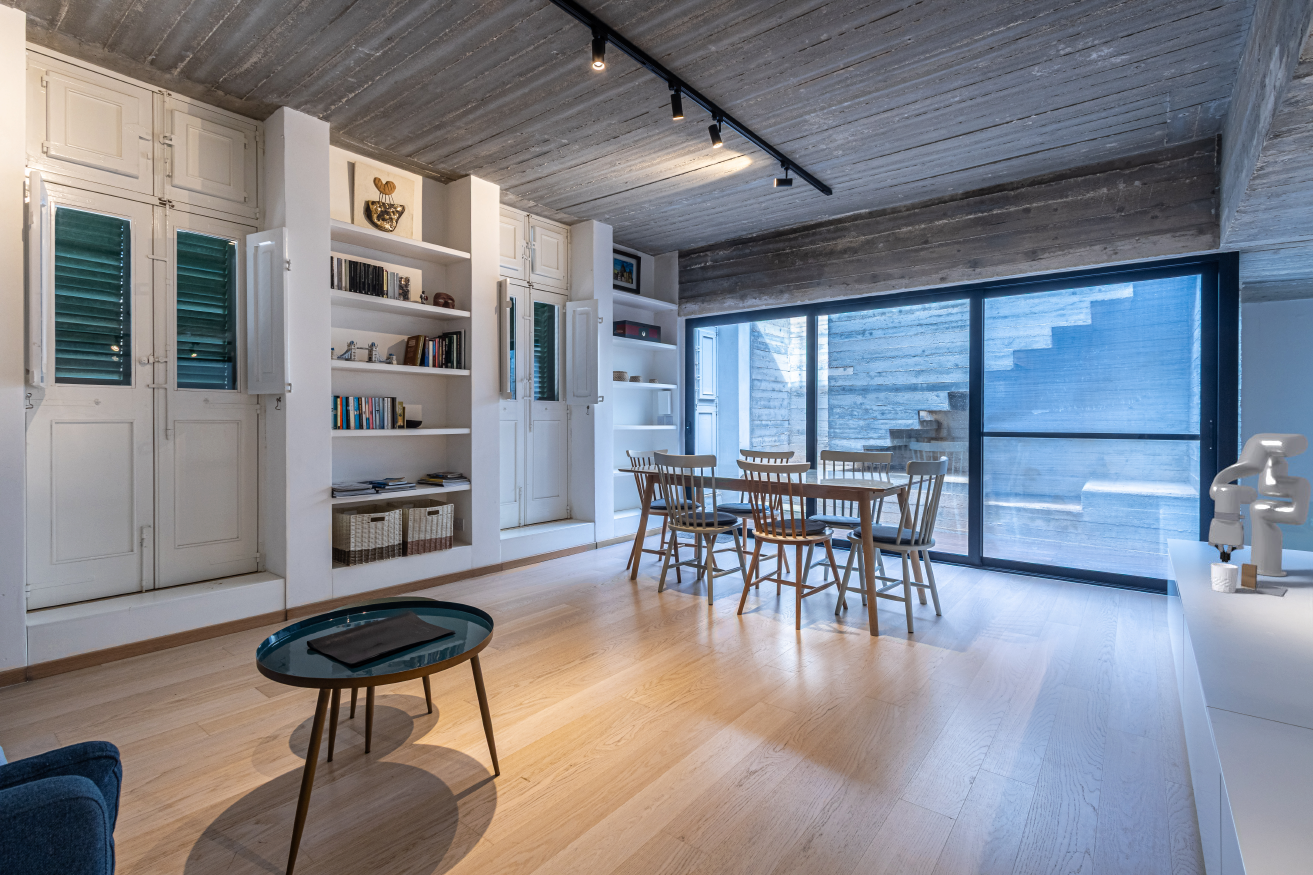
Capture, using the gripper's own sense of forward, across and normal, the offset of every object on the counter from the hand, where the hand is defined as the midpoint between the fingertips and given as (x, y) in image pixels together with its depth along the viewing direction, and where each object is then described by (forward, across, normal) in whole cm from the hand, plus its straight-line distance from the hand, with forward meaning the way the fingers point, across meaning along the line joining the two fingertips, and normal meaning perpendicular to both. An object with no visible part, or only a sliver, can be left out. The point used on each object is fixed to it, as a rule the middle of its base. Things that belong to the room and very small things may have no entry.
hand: (1225, 561), depth 250 cm
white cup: (+10, -2, +12) cm, 16 cm away
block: (+9, -7, -1) cm, 12 cm away
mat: (+9, -13, -1) cm, 16 cm away
